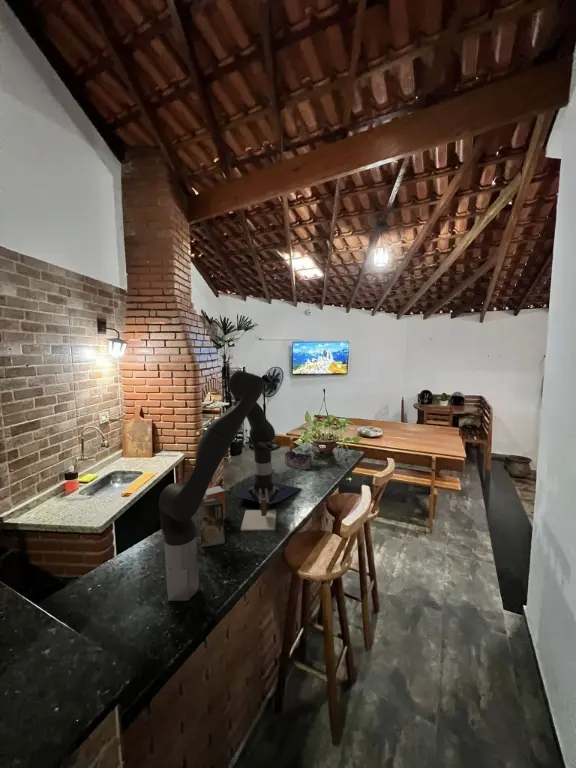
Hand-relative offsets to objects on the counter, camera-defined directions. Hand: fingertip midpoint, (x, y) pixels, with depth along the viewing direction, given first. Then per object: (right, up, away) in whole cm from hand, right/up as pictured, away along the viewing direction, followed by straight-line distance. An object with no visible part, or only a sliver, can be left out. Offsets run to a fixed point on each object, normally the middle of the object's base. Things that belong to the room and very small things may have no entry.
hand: (264, 509), depth 142 cm
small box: (-22, -5, +3) cm, 23 cm away
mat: (-2, -5, 0) cm, 5 cm away
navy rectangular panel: (0, -3, +25) cm, 25 cm away
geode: (+17, +2, +66) cm, 68 cm away
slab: (0, +1, +4) cm, 4 cm away
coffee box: (-19, -7, -14) cm, 25 cm away
